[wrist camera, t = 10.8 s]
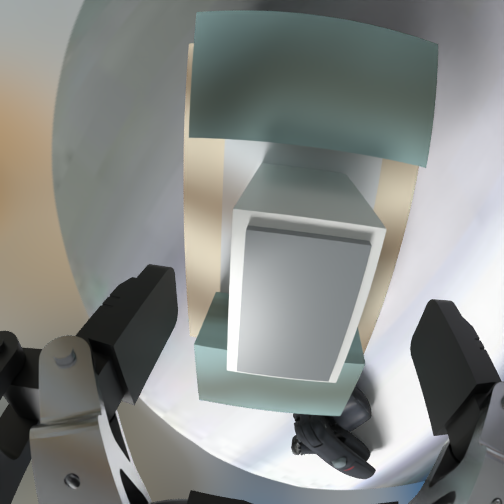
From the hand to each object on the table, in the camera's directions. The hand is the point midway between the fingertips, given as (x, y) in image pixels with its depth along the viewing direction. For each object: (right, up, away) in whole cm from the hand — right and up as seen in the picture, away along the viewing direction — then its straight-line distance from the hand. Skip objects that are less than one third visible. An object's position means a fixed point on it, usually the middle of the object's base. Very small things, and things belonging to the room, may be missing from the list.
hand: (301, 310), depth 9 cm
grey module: (+1, +3, +6) cm, 7 cm away
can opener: (+8, -15, +17) cm, 24 cm away
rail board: (+1, +4, +8) cm, 9 cm away
